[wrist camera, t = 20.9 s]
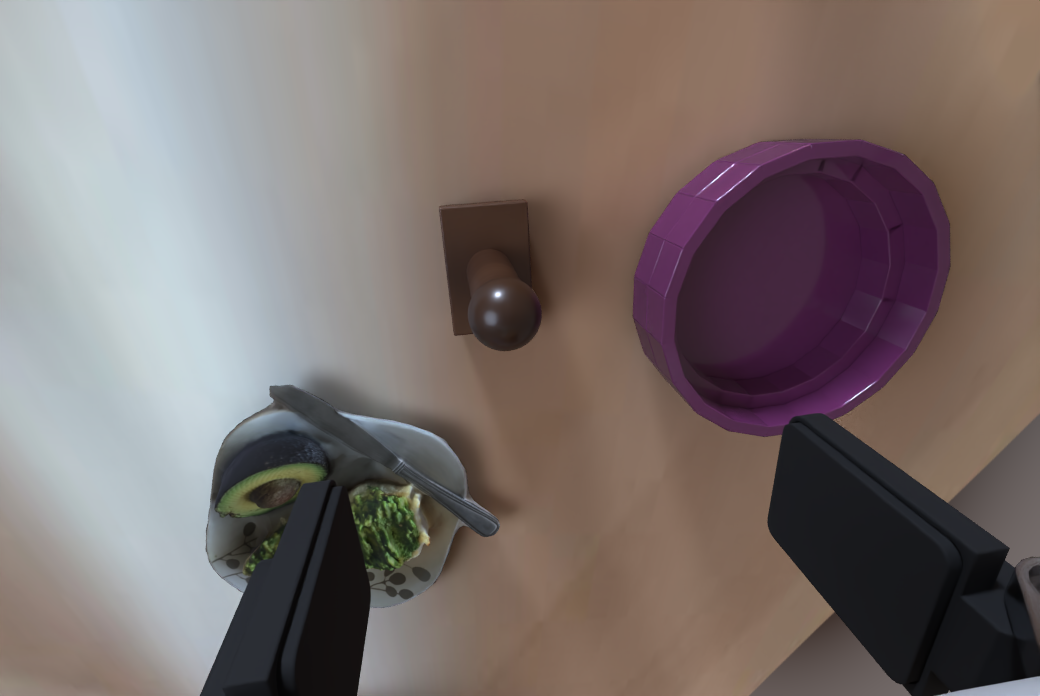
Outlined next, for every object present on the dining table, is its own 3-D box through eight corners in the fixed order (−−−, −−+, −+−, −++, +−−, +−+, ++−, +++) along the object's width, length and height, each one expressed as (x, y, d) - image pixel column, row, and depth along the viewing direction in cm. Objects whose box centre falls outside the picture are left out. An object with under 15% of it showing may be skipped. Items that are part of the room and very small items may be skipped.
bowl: (632, 150, 30) (672, 153, 25) (902, 130, 32) (990, 130, 27) (625, 409, 37) (655, 453, 32) (847, 380, 39) (908, 417, 34)
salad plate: (530, 423, 36) (542, 461, 32) (460, 604, 42) (463, 657, 37) (237, 358, 31) (205, 393, 27) (204, 574, 37) (174, 631, 33)
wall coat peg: (439, 202, 29) (438, 240, 19) (520, 196, 30) (565, 229, 19) (453, 322, 32) (459, 413, 22) (527, 314, 33) (569, 399, 22)
